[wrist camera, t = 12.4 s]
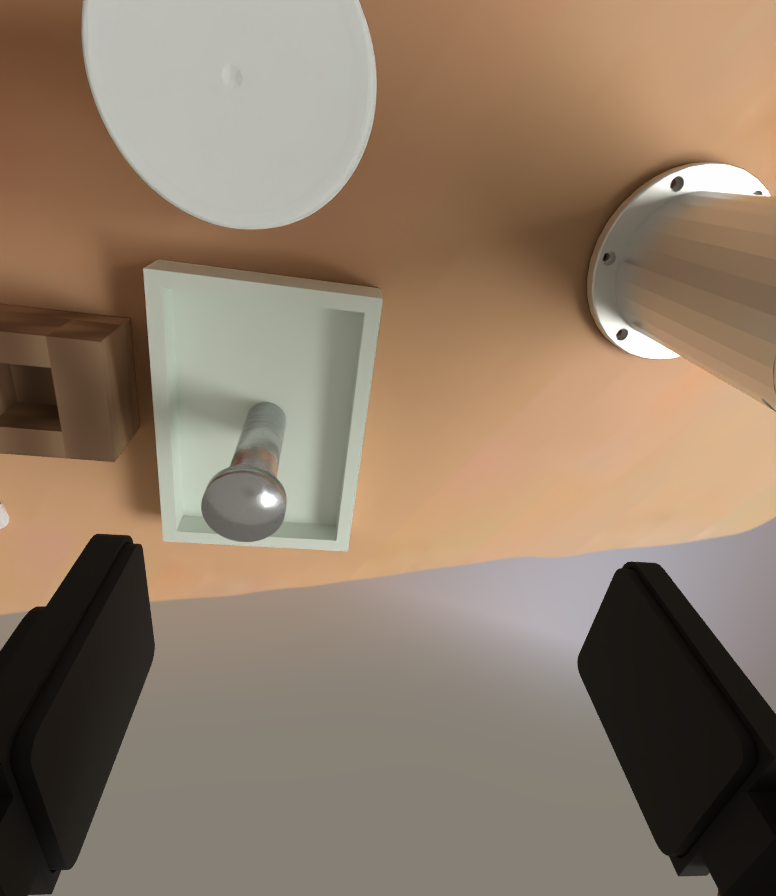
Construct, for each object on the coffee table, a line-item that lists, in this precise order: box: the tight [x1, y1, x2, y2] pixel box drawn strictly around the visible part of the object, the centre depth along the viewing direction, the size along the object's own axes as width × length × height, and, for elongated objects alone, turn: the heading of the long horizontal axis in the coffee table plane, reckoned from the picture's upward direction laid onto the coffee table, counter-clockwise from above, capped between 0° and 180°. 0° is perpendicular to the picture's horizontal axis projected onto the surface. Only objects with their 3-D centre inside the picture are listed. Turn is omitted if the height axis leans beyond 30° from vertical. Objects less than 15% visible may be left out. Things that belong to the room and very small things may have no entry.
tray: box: [143, 259, 383, 551], centre depth 37 cm, size 20×14×3 cm
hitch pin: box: [201, 402, 287, 542], centre depth 33 cm, size 4×4×11 cm
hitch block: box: [0, 304, 140, 462], centre depth 33 cm, size 10×8×5 cm
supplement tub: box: [81, 0, 377, 230], centre depth 23 cm, size 10×10×15 cm
